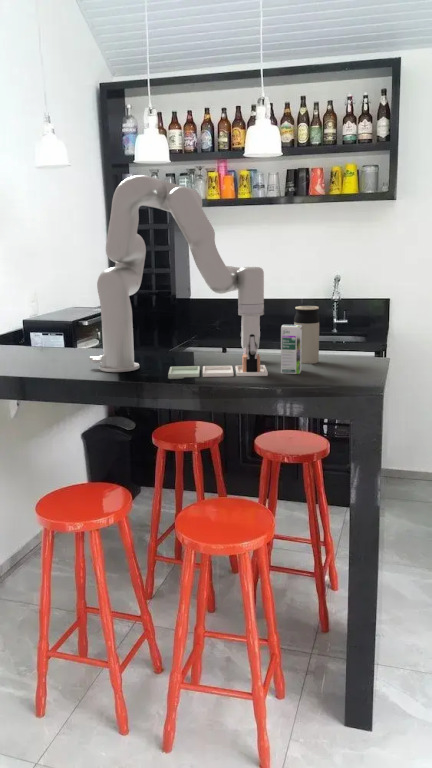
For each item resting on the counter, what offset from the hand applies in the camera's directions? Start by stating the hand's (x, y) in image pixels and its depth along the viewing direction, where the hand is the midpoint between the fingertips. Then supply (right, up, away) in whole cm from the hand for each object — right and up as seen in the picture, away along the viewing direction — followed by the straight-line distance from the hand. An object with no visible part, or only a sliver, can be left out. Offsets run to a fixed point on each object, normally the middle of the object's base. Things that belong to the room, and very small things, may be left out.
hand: (251, 369), depth 194 cm
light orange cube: (0, -1, 0) cm, 1 cm away
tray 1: (-20, -2, 0) cm, 20 cm away
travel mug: (+19, +3, +17) cm, 26 cm away
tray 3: (0, -1, 0) cm, 1 cm away
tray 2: (-10, -1, 0) cm, 10 cm away
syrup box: (+12, -1, 0) cm, 12 cm away
